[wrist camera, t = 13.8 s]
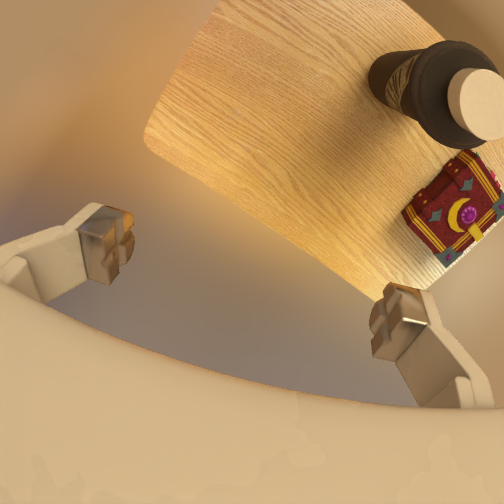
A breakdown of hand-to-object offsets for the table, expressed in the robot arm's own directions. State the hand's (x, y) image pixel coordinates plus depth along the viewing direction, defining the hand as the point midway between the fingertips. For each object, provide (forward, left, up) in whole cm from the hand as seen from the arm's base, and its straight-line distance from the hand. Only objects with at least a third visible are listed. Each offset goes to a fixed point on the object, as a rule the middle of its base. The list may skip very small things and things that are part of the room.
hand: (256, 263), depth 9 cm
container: (-1, +14, -34) cm, 37 cm away
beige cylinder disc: (-1, +14, -14) cm, 20 cm away
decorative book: (+17, +21, -34) cm, 43 cm away
